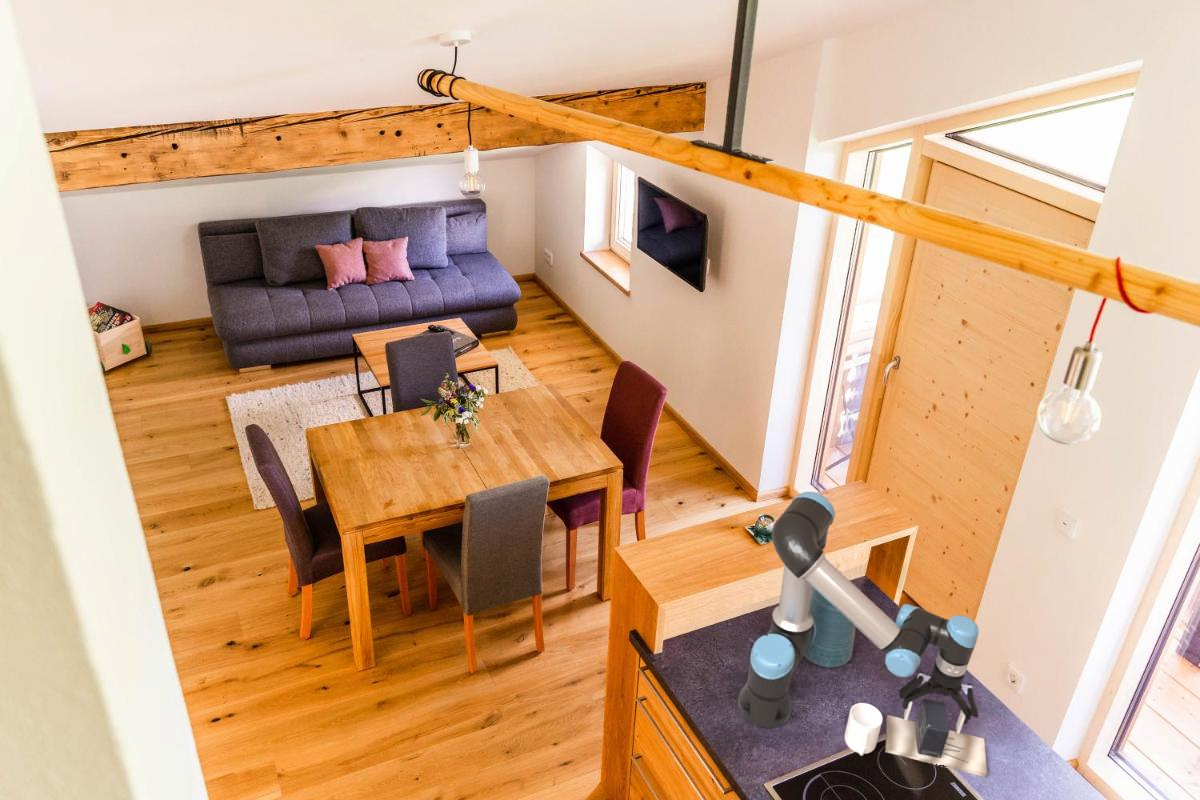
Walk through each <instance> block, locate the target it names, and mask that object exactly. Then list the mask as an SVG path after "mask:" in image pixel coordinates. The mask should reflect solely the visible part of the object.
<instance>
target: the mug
mask: <svg viewBox="0 0 1200 800" xmlns="http://www.w3.org/2000/svg"><path fill="white" fill-rule="evenodd" d="M847 718H848V719H847V723H846V727H845V732H844V741H845V742H844V743H845V744H846V746H847V747H848V748H849V749H850V750H851V751H853V752H855V753H857V754H859V756H861V757H862V756H864V754H865V755H867V754H869V753H872V752H873V751H874V750H875V749H876V747H877V743H878V740H879V739H878V738H879V736H880V732H881V727H882V723H883V715H882V713H881V711H880V709H878V708H877V707H876V706H873V705H872V704H869V703H867V702H859V703H855V704H853V705H852V706H851V708H850V711H849V714H848V717H847Z"/></svg>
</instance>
